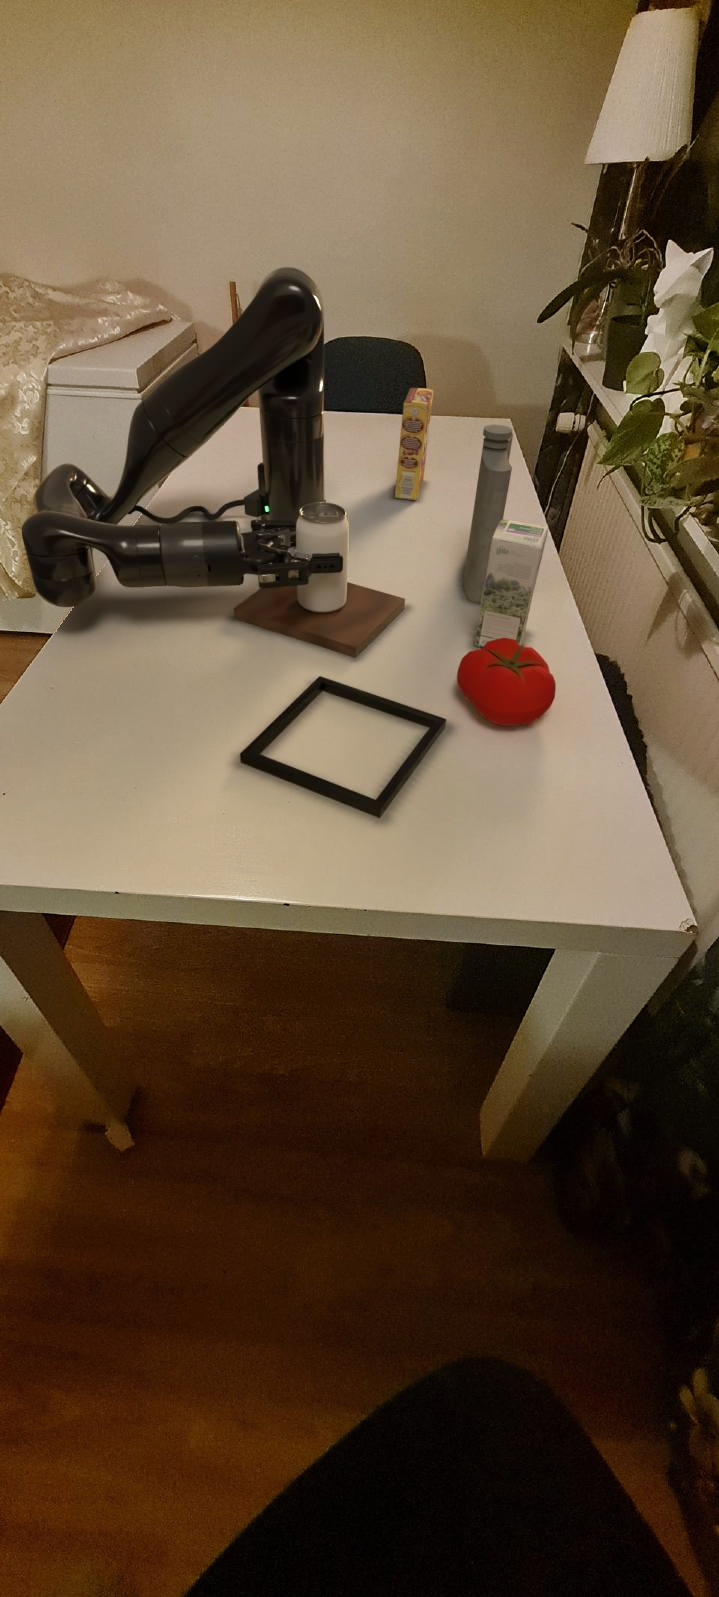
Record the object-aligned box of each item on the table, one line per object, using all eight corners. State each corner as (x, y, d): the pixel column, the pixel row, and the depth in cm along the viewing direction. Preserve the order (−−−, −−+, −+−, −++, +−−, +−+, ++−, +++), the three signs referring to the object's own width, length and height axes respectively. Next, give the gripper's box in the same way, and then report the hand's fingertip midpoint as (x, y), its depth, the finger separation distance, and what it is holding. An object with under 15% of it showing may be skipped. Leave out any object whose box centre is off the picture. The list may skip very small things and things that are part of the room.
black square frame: (240, 762, 72) (239, 753, 71) (319, 683, 83) (319, 675, 82) (379, 818, 67) (380, 809, 66) (445, 727, 77) (446, 718, 77)
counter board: (234, 618, 92) (233, 608, 91) (291, 575, 101) (291, 565, 100) (355, 657, 87) (355, 647, 86) (404, 608, 96) (405, 598, 95)
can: (296, 589, 95) (295, 499, 86) (344, 589, 96) (347, 500, 87) (297, 614, 91) (296, 523, 82) (348, 614, 91) (351, 523, 83)
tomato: (489, 744, 76) (500, 694, 71) (441, 687, 83) (448, 639, 78) (565, 723, 79) (579, 674, 74) (512, 671, 86) (522, 623, 81)
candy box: (418, 501, 122) (427, 403, 111) (394, 498, 123) (400, 401, 112) (425, 482, 128) (434, 388, 118) (401, 480, 129) (408, 386, 118)
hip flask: (488, 604, 97) (515, 450, 83) (459, 600, 98) (481, 447, 84) (492, 553, 109) (516, 410, 95) (465, 550, 109) (486, 407, 95)
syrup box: (525, 633, 92) (550, 523, 82) (517, 657, 88) (542, 544, 78) (482, 624, 93) (501, 515, 83) (472, 647, 89) (491, 535, 79)
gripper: (204, 557, 93) (329, 552, 96) (206, 612, 83) (346, 605, 86) (198, 499, 88) (330, 496, 91) (199, 551, 78) (348, 546, 81)
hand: (337, 549), depth 88 cm, fingers closed on can, 6 cm apart
